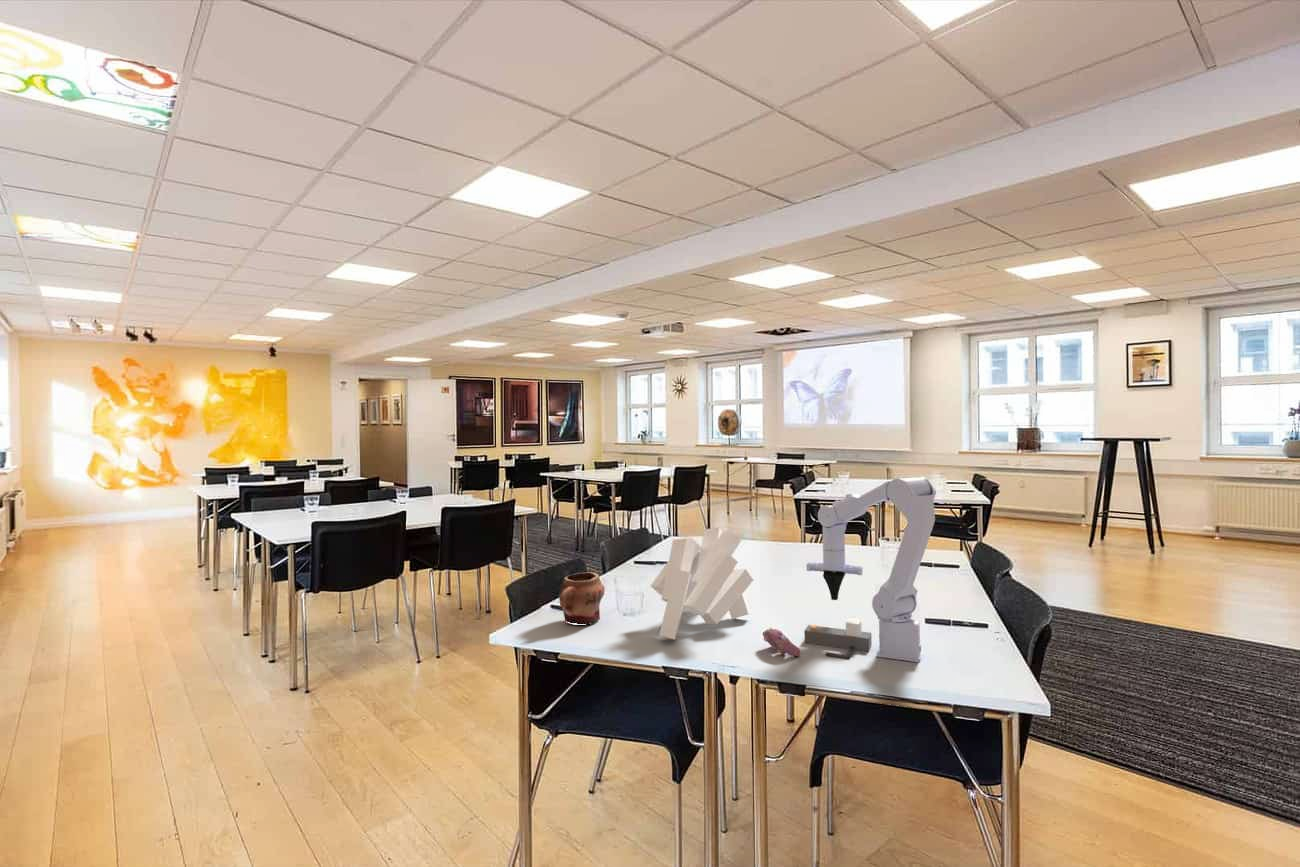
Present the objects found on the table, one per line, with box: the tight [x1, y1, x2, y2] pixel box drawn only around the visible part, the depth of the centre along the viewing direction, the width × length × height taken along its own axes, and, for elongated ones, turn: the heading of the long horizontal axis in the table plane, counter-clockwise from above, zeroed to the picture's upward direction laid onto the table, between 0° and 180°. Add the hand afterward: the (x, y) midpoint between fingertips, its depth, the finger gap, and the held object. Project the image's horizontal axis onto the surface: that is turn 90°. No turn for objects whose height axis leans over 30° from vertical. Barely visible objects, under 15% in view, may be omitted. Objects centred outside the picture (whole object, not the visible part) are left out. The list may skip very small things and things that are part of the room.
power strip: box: [803, 617, 873, 660], centre depth 156 cm, size 16×12×6 cm
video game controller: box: [762, 627, 801, 658], centre depth 154 cm, size 10×5×7 cm, turn 21°
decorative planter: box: [558, 571, 605, 625], centre depth 180 cm, size 20×12×14 cm, turn 160°
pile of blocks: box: [650, 527, 754, 640], centre depth 178 cm, size 35×30×35 cm
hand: (834, 599), depth 167 cm, fingers closed
